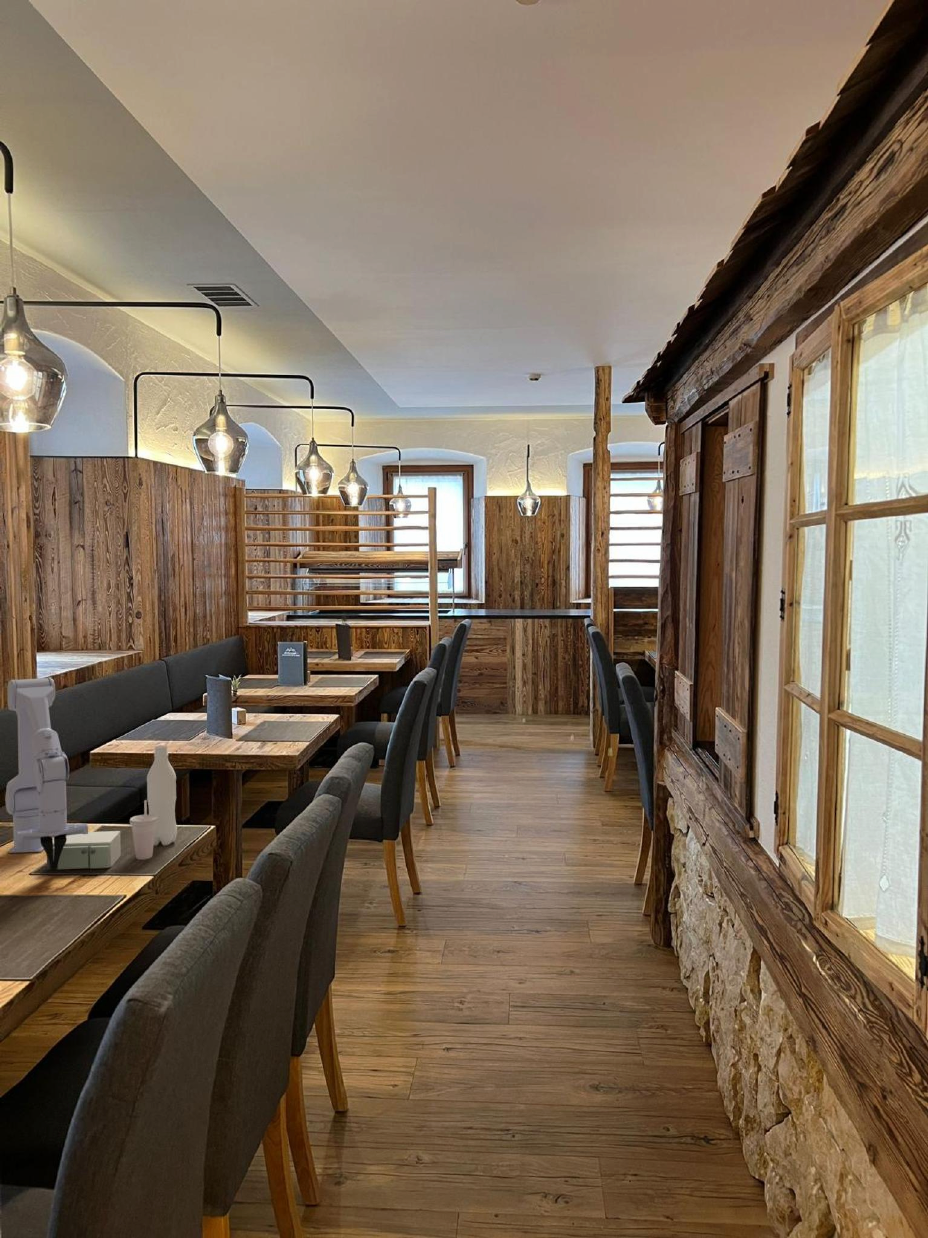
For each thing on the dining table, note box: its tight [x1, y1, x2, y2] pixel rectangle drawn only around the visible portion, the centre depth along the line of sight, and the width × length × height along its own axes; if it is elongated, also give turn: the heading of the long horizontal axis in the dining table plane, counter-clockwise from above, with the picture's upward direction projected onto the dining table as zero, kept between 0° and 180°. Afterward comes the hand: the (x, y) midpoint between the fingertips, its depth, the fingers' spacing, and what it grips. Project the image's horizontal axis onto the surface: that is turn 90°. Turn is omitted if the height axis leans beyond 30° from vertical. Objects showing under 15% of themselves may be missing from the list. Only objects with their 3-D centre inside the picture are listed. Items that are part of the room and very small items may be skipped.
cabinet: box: [52, 830, 122, 869], centre depth 215 cm, size 11×14×6 cm
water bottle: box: [146, 744, 178, 846], centre depth 230 cm, size 7×7×25 cm
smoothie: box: [129, 799, 158, 860], centre depth 220 cm, size 6×6×14 cm
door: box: [46, 845, 90, 871], centre depth 210 cm, size 2×9×5 cm, turn 98°
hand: (54, 868), depth 205 cm, fingers closed
